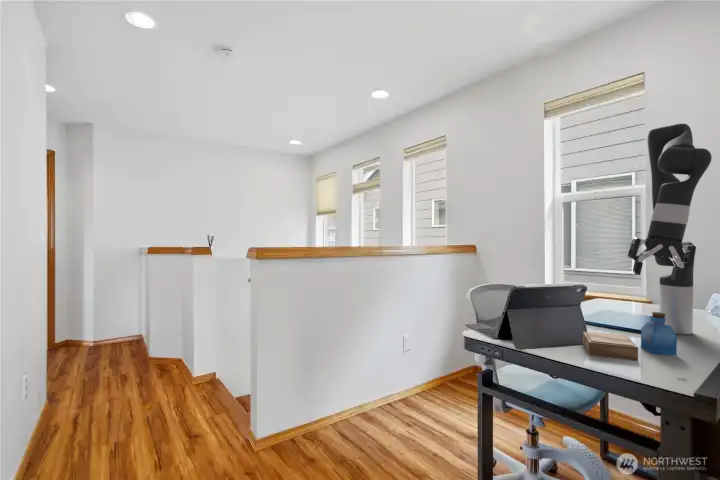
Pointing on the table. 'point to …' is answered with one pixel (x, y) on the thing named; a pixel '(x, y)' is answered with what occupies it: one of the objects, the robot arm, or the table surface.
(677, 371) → the table surface
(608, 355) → the block
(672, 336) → the perfume bottle
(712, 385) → the table surface
